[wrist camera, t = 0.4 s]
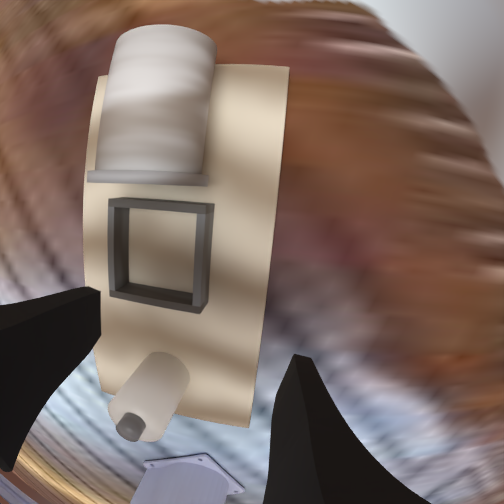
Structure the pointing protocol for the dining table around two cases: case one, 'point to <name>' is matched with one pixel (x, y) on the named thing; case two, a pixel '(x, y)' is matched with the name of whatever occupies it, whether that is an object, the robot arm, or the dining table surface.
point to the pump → (149, 398)
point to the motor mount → (183, 213)
